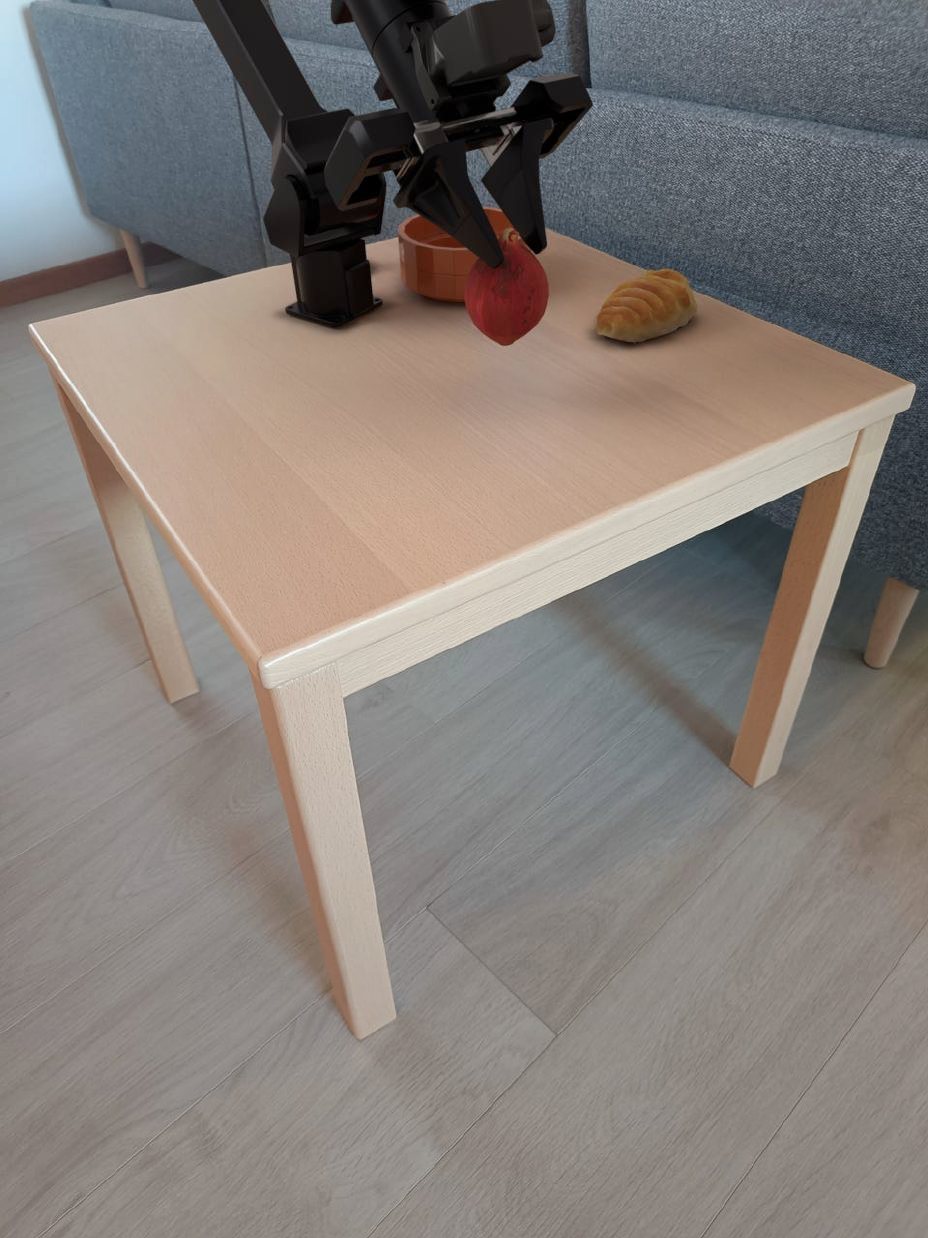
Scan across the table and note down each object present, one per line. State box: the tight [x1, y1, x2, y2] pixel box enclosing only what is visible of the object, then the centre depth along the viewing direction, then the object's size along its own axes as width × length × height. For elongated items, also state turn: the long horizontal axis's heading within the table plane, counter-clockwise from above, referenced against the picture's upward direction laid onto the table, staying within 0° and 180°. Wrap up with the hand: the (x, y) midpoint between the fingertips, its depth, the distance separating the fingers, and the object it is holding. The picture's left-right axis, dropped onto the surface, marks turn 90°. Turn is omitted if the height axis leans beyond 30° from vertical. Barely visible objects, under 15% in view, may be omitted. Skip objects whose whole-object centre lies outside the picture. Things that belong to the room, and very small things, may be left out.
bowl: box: [397, 206, 532, 303], centre depth 83 cm, size 12×12×5 cm
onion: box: [464, 227, 550, 347], centre depth 61 cm, size 6×6×8 cm
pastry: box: [596, 268, 699, 344], centre depth 75 cm, size 9×7×4 cm
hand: (520, 257), depth 59 cm, fingers closed on onion, 3 cm apart
